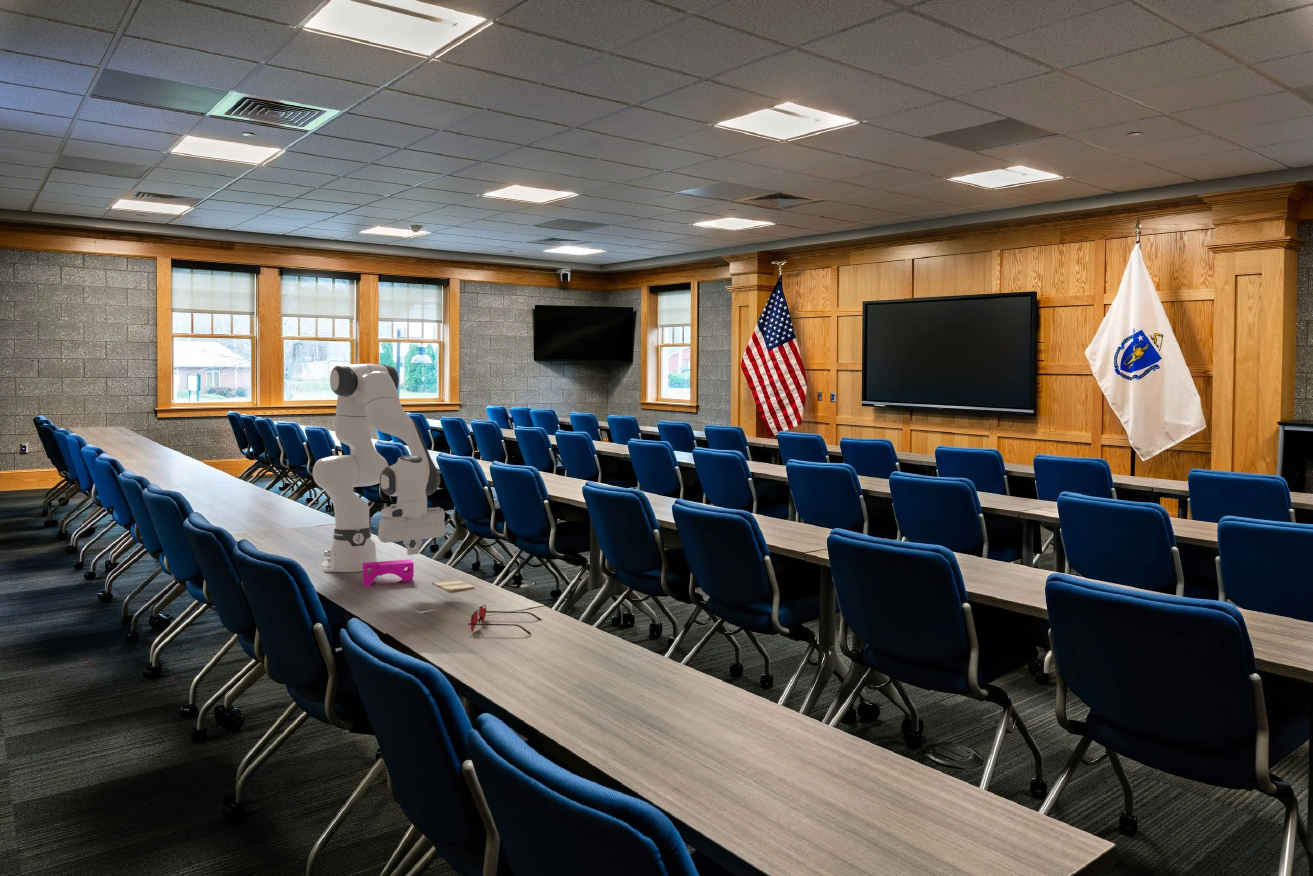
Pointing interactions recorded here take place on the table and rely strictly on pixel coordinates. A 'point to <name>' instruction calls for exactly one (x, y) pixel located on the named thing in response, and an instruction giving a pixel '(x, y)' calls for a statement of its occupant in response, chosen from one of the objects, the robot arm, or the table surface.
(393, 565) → the toy block
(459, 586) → the wooden board
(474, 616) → the glasses
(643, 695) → the table surface
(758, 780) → the table surface
